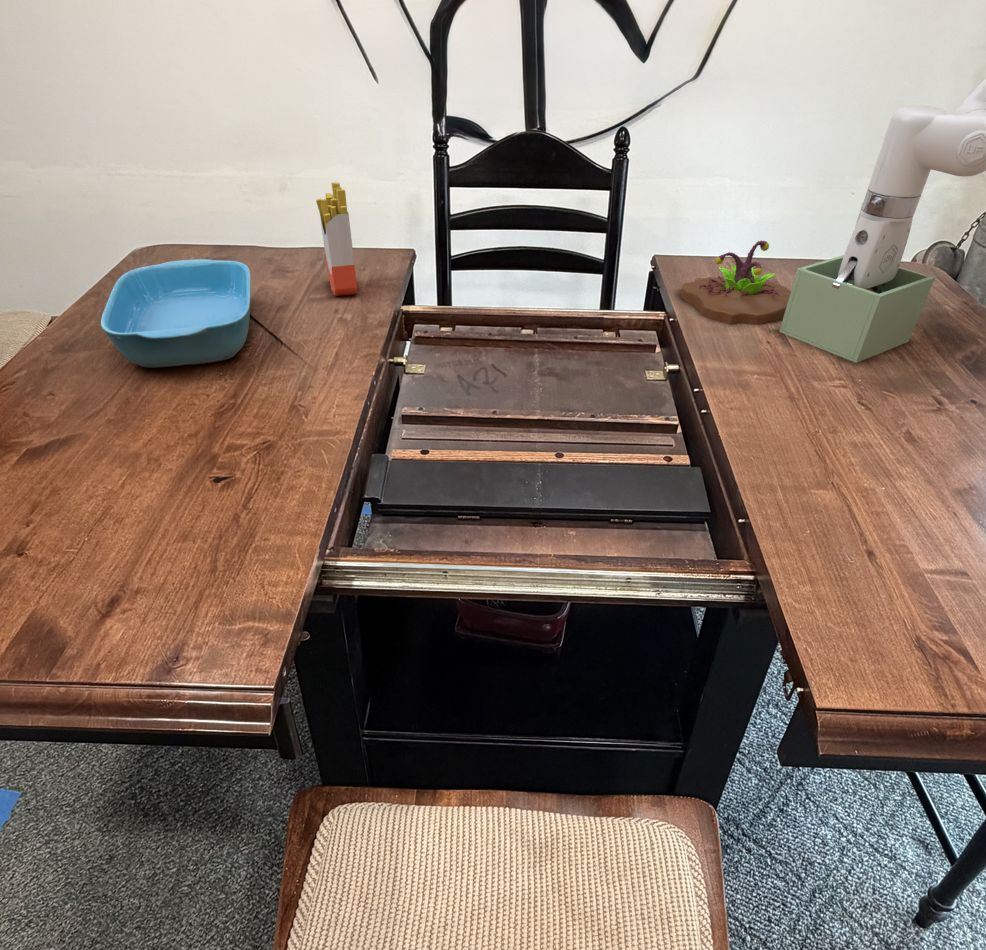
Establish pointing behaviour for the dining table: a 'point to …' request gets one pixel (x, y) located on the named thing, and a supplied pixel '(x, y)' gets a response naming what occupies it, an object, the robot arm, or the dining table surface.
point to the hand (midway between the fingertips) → (848, 322)
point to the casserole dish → (180, 312)
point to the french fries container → (338, 241)
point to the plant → (738, 293)
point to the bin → (853, 311)
